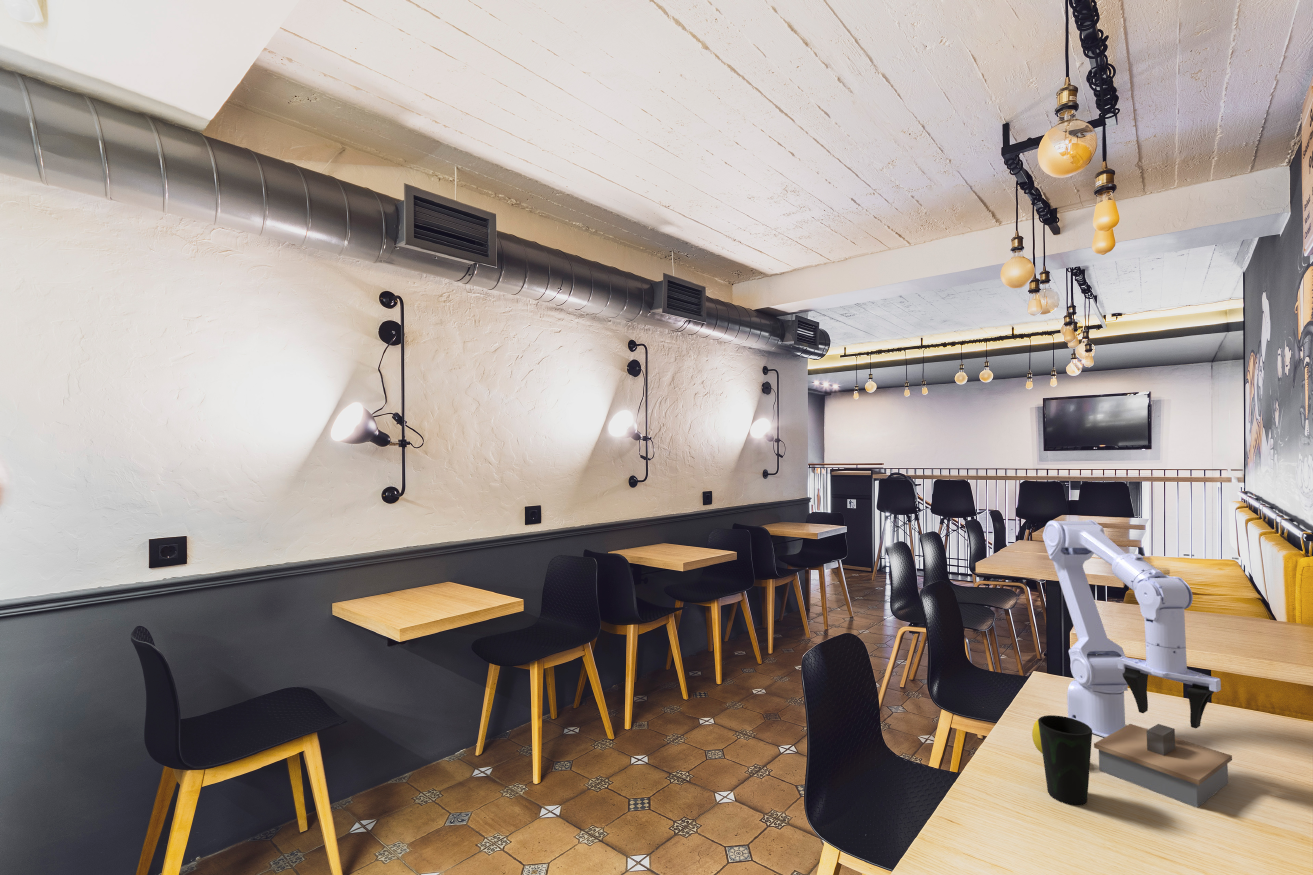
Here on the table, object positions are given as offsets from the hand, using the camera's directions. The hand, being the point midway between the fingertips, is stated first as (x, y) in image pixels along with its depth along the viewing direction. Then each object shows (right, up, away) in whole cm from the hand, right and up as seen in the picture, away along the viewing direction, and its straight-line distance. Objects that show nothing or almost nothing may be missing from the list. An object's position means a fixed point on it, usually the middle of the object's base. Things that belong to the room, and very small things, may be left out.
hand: (1168, 718), depth 110 cm
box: (-3, -10, -2) cm, 10 cm away
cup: (-24, -10, -8) cm, 27 cm away
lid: (-3, -6, -2) cm, 6 cm away
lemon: (-19, -10, +5) cm, 22 cm away
